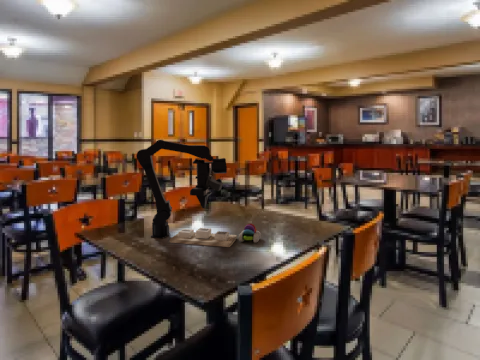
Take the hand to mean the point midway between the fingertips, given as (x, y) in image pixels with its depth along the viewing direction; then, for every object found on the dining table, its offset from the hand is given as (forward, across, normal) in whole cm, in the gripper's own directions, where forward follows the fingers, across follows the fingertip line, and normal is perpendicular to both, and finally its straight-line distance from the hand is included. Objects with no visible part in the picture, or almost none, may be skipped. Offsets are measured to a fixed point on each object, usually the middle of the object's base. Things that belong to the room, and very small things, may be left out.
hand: (203, 208), depth 155 cm
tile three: (+11, -9, -11) cm, 18 cm away
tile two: (+10, -9, -3) cm, 14 cm away
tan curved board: (+12, -9, -3) cm, 15 cm away
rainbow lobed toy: (+12, -4, -22) cm, 26 cm away
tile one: (+11, -9, +5) cm, 15 cm away
